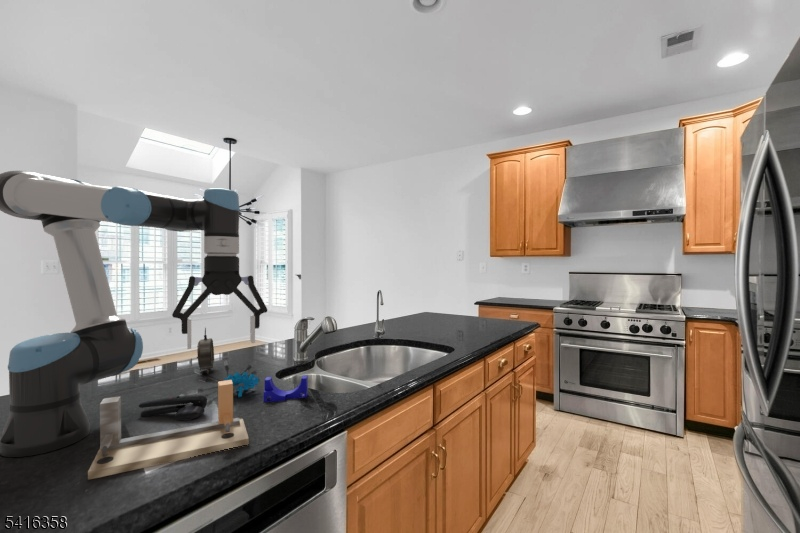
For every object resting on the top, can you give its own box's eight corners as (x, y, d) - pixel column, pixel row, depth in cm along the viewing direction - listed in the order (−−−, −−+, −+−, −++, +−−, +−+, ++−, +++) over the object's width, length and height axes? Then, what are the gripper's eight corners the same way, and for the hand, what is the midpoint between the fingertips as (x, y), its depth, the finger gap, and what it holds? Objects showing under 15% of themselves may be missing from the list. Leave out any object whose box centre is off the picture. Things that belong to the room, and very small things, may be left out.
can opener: (213, 411, 104) (212, 390, 104) (198, 421, 97) (198, 399, 97) (149, 410, 105) (149, 390, 104) (130, 421, 98) (130, 399, 97)
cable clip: (263, 402, 110) (263, 381, 110) (266, 396, 115) (266, 377, 115) (306, 400, 112) (305, 379, 112) (307, 394, 116) (307, 375, 116)
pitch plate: (87, 479, 71) (87, 418, 71) (101, 451, 81) (101, 397, 81) (248, 445, 84) (248, 393, 84) (242, 424, 95) (242, 378, 95)
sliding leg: (220, 433, 84) (219, 391, 84) (218, 420, 91) (217, 381, 91) (235, 430, 86) (234, 389, 85) (231, 417, 93) (231, 379, 93)
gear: (262, 383, 122) (253, 367, 114) (261, 400, 118) (252, 385, 110) (226, 389, 120) (215, 374, 113) (224, 407, 116) (212, 392, 109)
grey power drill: (212, 374, 137) (212, 329, 136) (195, 376, 135) (195, 330, 134) (214, 366, 147) (214, 324, 147) (199, 368, 145) (198, 325, 145)
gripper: (158, 254, 81) (158, 354, 81) (279, 255, 93) (279, 342, 93) (161, 254, 88) (161, 346, 88) (273, 256, 99) (273, 337, 100)
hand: (222, 344), depth 91 cm, fingers open, 13 cm apart
